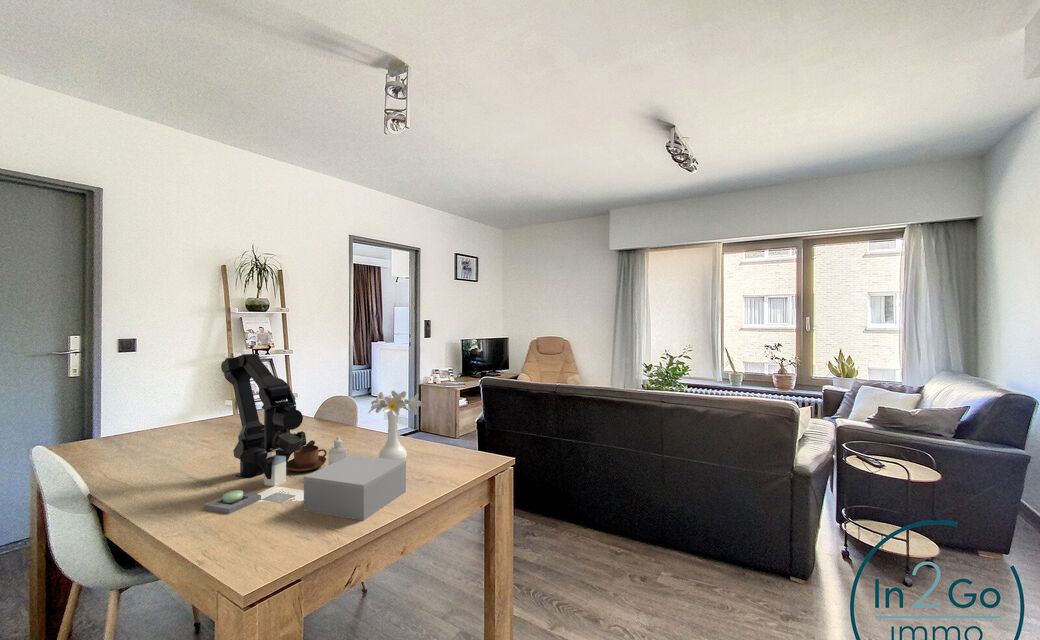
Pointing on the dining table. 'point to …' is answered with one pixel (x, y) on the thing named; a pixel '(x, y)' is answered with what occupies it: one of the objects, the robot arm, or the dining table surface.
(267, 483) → the white blue upright block
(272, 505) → the dining table surface
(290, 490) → the paper sheet
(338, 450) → the eye dropper bottle
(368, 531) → the dining table surface
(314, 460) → the cup and saucer
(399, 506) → the dining table surface
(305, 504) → the grey rectangular slab
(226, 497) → the button
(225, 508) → the button housing
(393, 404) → the flower vase
